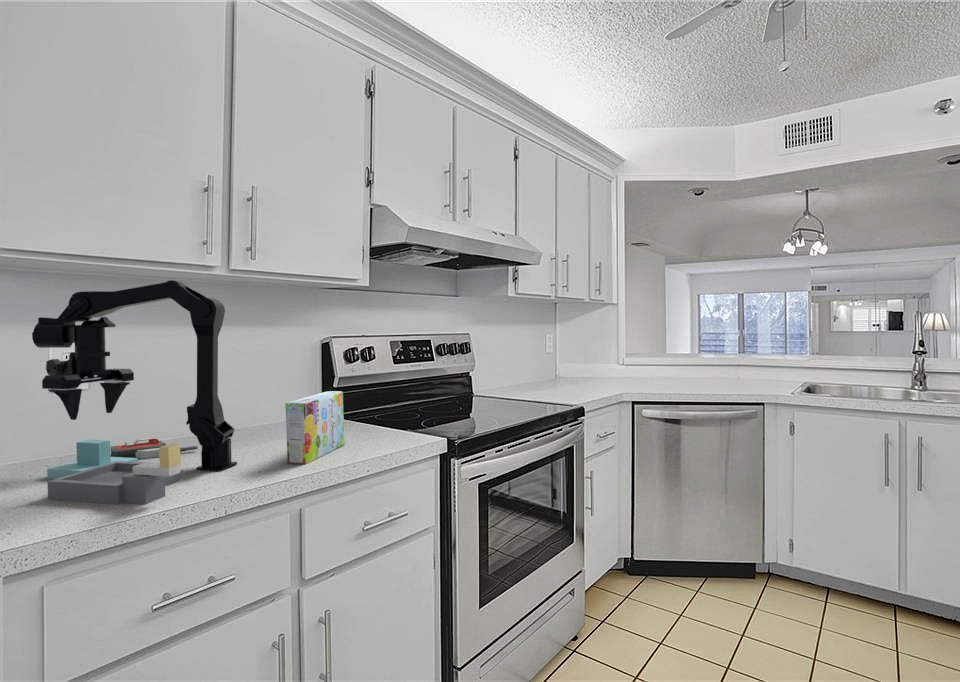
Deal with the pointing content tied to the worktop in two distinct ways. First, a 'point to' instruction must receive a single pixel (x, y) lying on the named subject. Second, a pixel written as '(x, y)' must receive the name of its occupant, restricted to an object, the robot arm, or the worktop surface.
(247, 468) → the worktop surface
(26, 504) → the worktop surface
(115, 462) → the tray
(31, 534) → the worktop surface
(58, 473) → the cover
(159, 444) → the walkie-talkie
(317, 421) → the snack box
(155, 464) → the white yellow l-shaped block
